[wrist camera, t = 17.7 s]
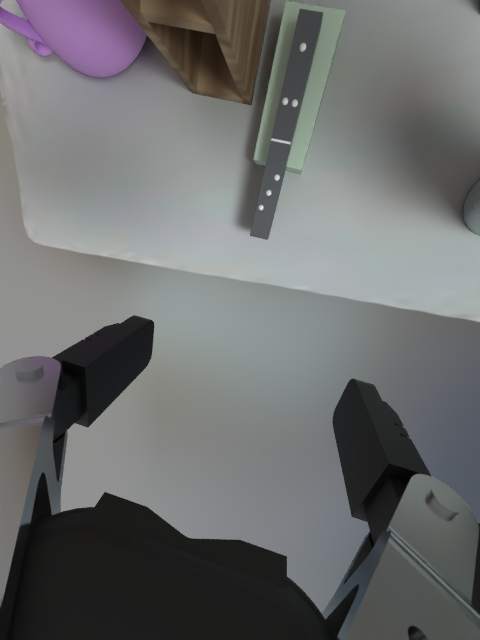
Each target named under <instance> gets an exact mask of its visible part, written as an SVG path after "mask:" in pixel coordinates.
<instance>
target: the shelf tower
mask: <svg viewBox="0 0 480 640" xmlns="http://www.w3.org/2000/svg"><path fill="white" fill-rule="evenodd" d="M120 1H121V2H122V3H123V5H124V6H125V7H126V8H127V10H128V11H129V12H130V14H131V15H132V16H133V17H134V19H135V20H136V21H137V23H138V24H139V25H140V26H141V28H142V29H143V30H144V32H145V33H146V34H147V35H148V37H149V38H150V39H151V41H152V42H153V43H154V44H155V46H156V47H157V48H158V50H159V51H160V52H161V53H162V55H163V56H164V57H165V59H166V60H167V61H168V62H169V64H170V65H171V66H172V67H173V69H174V70H175V71H176V73H177V74H178V75H179V76H180V78H181V79H182V80H183V82H184V83H185V84H186V85H187V87H188V88H189V89H190V91H191V92H192V93H195V94H200V95H205V96H210V97H214V98H219V99H224V100H229V101H234V102H239V103H244V104H249V105H251V104H252V98H253V93H254V88H255V82H256V77H257V72H258V66H259V61H260V56H261V50H262V45H263V40H264V34H265V29H266V24H267V18H268V13H269V7H270V2H271V0H120Z"/></svg>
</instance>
